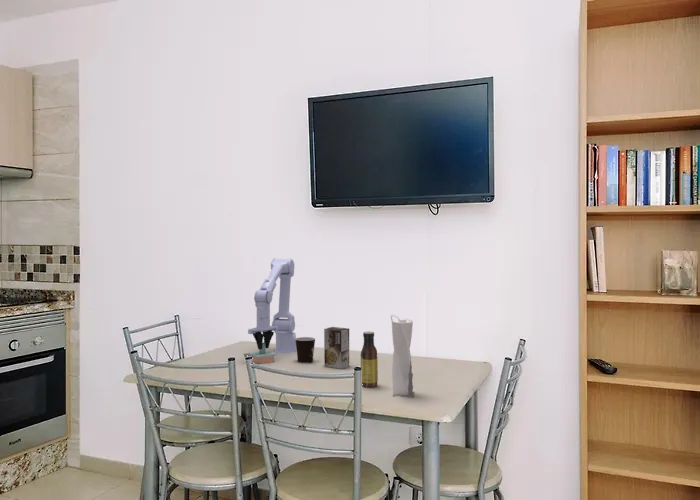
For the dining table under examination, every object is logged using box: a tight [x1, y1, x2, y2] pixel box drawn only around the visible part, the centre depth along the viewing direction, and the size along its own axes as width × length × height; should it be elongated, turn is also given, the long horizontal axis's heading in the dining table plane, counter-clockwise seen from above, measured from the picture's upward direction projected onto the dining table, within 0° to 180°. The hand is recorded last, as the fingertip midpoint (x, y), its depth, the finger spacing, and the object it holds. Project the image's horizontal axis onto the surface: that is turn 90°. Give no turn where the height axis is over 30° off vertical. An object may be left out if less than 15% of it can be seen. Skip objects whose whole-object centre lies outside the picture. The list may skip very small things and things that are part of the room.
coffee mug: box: [295, 336, 316, 364], centre depth 256 cm, size 12×9×10 cm
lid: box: [248, 342, 277, 358], centre depth 255 cm, size 9×9×5 cm
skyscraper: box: [390, 314, 415, 398], centre depth 205 cm, size 8×8×28 cm
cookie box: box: [323, 326, 350, 370], centre depth 246 cm, size 9×6×16 cm
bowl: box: [252, 356, 275, 365], centre depth 254 cm, size 9×9×3 cm
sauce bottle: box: [360, 330, 379, 388], centre depth 216 cm, size 7×6×20 cm
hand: (263, 348), depth 254 cm, fingers open, 3 cm apart
